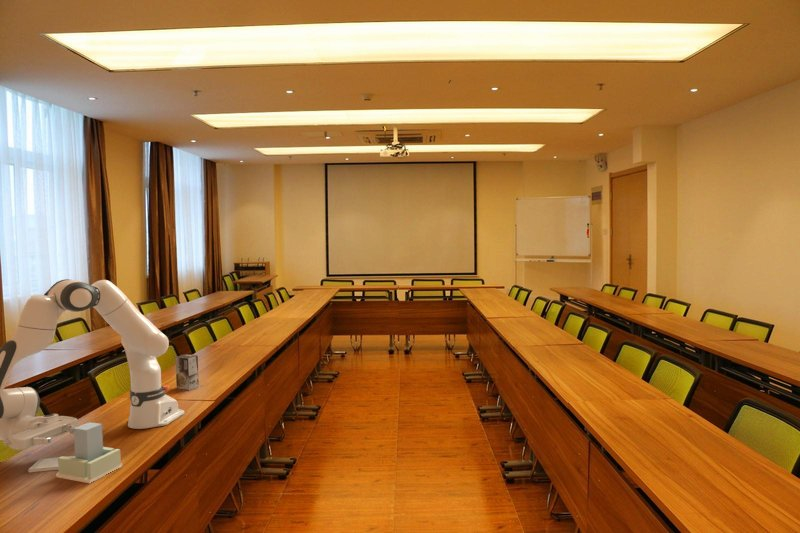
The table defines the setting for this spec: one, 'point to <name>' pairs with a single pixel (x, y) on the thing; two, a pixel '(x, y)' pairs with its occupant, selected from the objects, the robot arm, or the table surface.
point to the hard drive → (45, 464)
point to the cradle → (89, 466)
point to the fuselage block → (88, 441)
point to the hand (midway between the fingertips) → (62, 435)
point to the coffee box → (187, 371)
